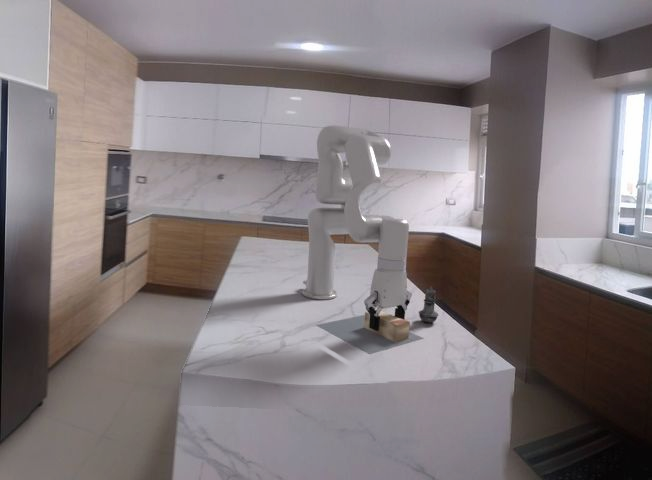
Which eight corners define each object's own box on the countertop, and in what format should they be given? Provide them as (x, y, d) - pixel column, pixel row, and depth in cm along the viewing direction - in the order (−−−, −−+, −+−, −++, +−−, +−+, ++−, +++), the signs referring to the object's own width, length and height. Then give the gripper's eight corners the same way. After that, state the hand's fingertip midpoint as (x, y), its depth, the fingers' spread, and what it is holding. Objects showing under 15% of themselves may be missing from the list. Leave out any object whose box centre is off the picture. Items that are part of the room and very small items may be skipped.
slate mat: (315, 327, 115) (315, 325, 115) (367, 316, 127) (367, 314, 127) (369, 357, 98) (369, 354, 98) (423, 341, 110) (423, 338, 110)
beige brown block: (364, 327, 115) (365, 311, 114) (376, 324, 118) (378, 308, 118) (395, 342, 106) (396, 325, 105) (408, 338, 109) (409, 321, 108)
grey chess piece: (423, 328, 119) (427, 288, 118) (413, 321, 125) (417, 283, 123) (441, 327, 121) (445, 288, 119) (431, 320, 127) (434, 283, 125)
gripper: (402, 260, 117) (398, 317, 120) (358, 264, 107) (354, 327, 109) (423, 264, 111) (418, 325, 114) (378, 270, 101) (373, 336, 103)
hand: (386, 326), depth 111 cm, fingers open, 9 cm apart
